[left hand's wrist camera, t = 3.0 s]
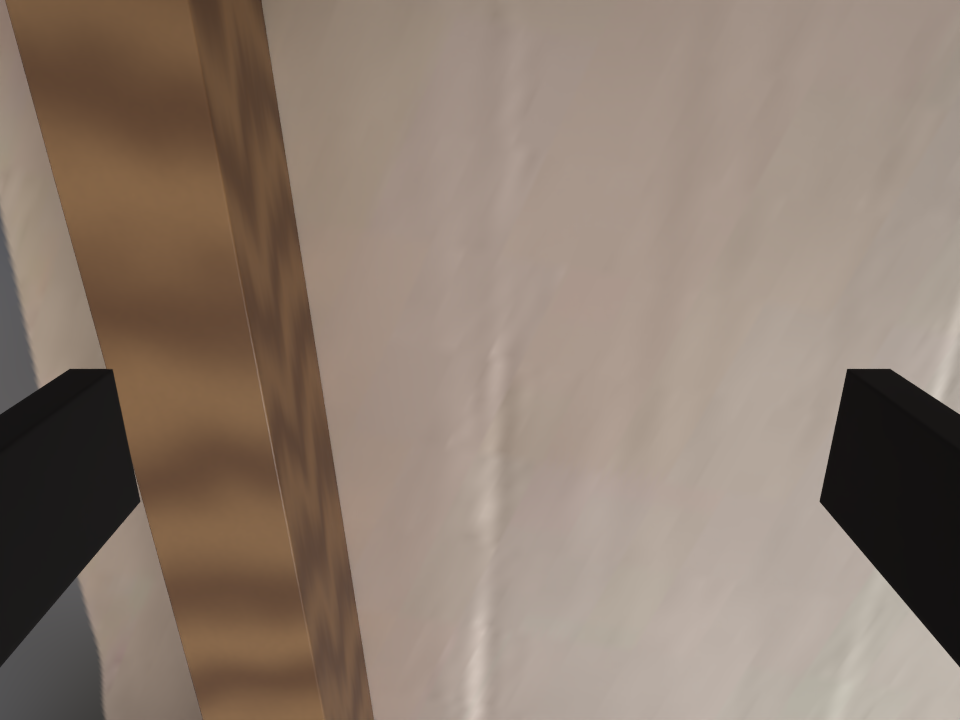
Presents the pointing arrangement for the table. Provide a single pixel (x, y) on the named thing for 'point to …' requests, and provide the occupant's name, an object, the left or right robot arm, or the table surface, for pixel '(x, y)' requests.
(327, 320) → the table surface
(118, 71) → the post
